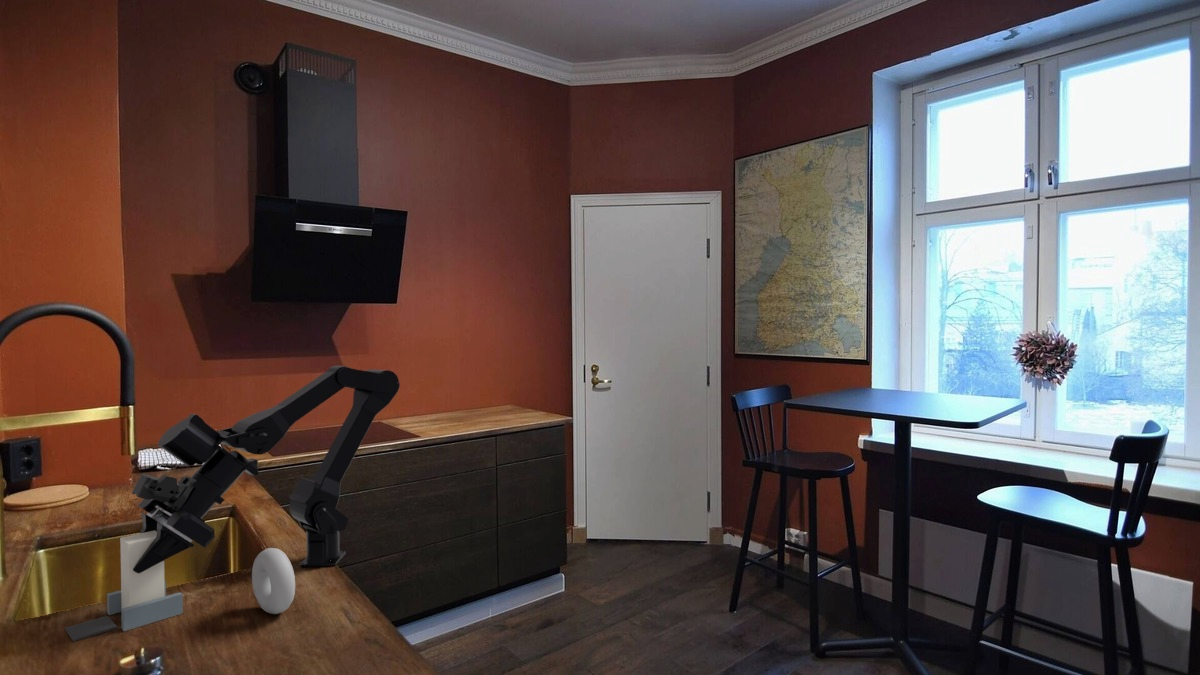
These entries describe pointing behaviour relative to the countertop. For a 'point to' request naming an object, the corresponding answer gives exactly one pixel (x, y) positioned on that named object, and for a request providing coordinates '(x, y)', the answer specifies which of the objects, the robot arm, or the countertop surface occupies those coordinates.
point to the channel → (145, 609)
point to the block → (139, 584)
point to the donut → (273, 580)
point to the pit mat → (90, 628)
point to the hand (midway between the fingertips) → (131, 567)
